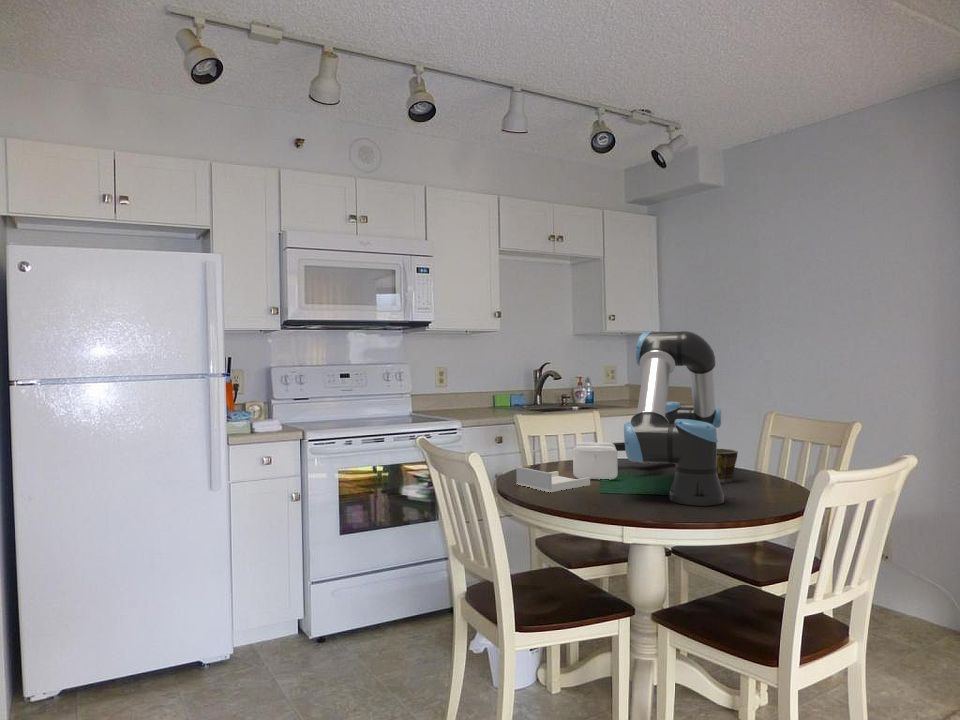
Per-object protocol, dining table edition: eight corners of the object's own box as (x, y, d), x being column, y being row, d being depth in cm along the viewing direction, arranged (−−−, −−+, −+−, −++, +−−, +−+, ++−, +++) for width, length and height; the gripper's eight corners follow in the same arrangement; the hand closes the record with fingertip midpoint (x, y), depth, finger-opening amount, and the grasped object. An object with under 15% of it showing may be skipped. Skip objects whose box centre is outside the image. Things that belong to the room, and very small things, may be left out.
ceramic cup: (708, 477, 237) (708, 448, 237) (739, 479, 233) (739, 449, 233) (702, 484, 226) (702, 453, 225) (735, 486, 221) (735, 455, 221)
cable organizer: (618, 475, 243) (618, 442, 243) (617, 481, 233) (617, 447, 232) (575, 474, 246) (575, 442, 246) (572, 480, 236) (572, 446, 236)
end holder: (590, 485, 226) (589, 467, 226) (549, 492, 216) (549, 473, 216) (556, 478, 239) (556, 461, 239) (516, 485, 228) (516, 467, 228)
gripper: (681, 459, 248) (642, 467, 235) (628, 451, 268) (589, 458, 255) (681, 439, 248) (642, 445, 235) (628, 432, 268) (589, 437, 255)
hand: (614, 452), depth 245 cm, fingers open, 13 cm apart
